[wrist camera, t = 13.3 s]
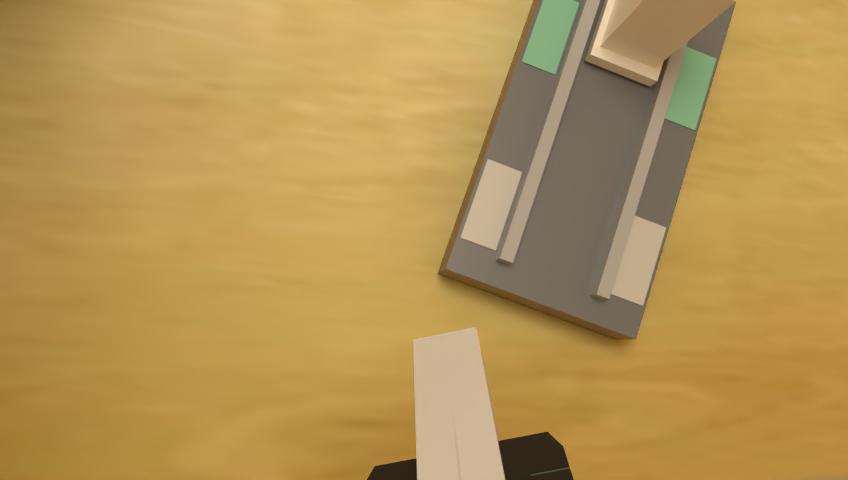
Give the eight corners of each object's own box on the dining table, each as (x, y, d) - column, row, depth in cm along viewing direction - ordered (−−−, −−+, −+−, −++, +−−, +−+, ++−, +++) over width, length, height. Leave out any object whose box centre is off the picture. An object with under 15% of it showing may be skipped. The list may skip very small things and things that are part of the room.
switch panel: (437, 273, 45) (448, 267, 41) (555, -62, 50) (575, -96, 46) (616, 339, 46) (643, 339, 42) (716, 5, 50) (749, -23, 47)
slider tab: (584, 60, 45) (657, -18, 35) (608, -11, 46) (685, -107, 36) (650, 86, 45) (740, 16, 36) (672, 15, 46) (766, -73, 36)
